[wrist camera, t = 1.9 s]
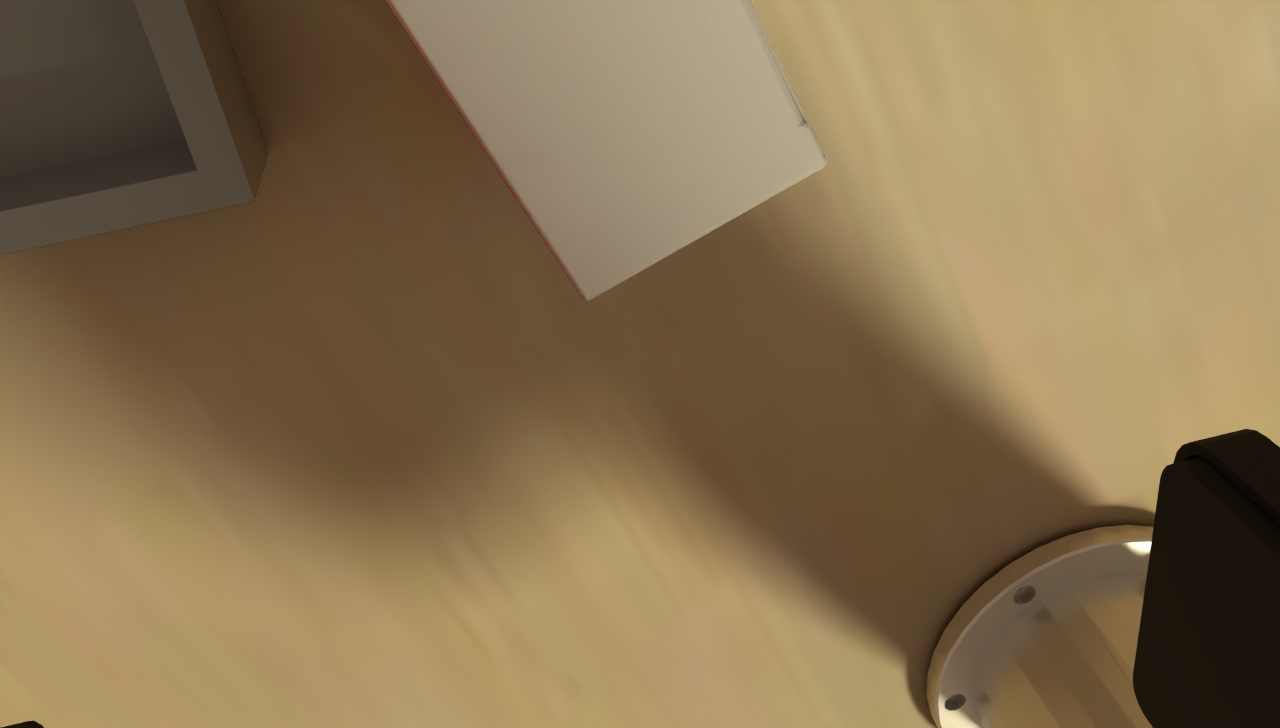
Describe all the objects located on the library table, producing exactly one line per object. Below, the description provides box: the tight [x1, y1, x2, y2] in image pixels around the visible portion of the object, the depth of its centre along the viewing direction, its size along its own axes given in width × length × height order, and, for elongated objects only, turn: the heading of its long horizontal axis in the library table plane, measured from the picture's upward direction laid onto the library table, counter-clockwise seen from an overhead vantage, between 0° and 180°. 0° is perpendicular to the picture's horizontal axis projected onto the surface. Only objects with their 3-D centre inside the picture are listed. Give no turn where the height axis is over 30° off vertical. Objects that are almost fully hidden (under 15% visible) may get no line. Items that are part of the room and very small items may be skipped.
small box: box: [385, 0, 828, 301], centre depth 24 cm, size 8×6×10 cm
